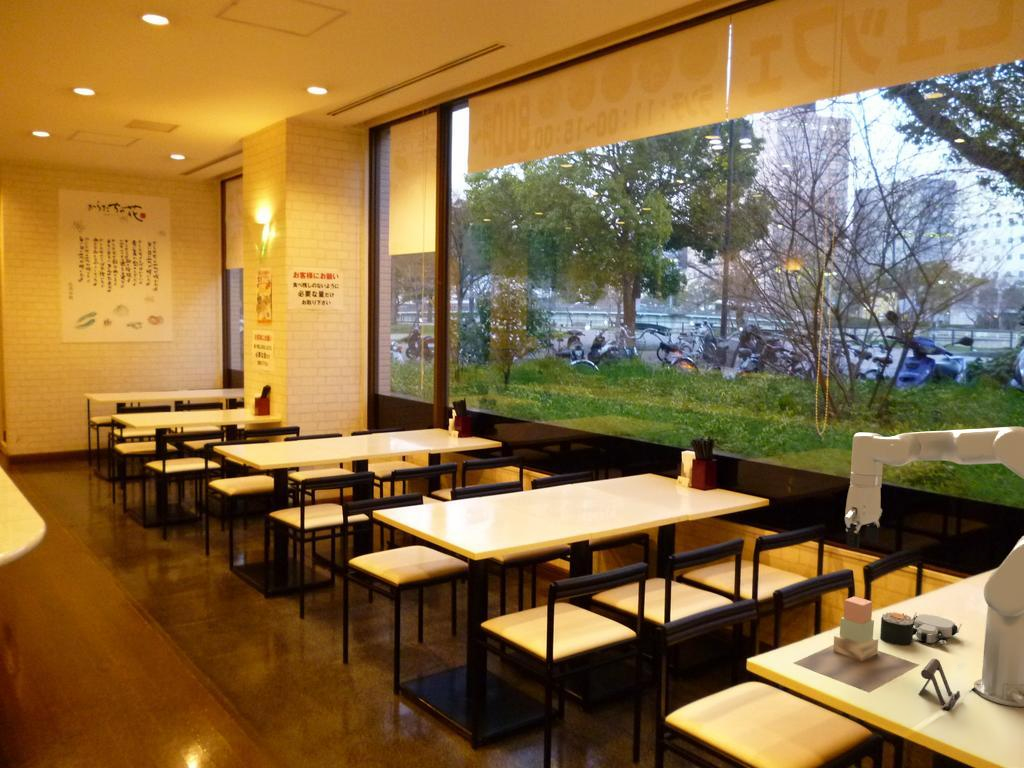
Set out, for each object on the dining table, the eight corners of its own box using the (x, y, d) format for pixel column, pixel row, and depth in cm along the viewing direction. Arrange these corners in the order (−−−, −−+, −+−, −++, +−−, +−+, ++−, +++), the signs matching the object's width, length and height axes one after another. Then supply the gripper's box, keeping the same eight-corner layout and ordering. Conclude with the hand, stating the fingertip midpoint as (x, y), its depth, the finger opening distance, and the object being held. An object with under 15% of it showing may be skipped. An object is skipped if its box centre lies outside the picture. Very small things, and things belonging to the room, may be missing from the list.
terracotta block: (871, 620, 213) (872, 601, 213) (861, 624, 210) (862, 605, 210) (853, 614, 217) (854, 596, 217) (843, 618, 214) (844, 600, 214)
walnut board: (919, 668, 208) (919, 664, 208) (868, 696, 191) (868, 692, 191) (845, 642, 223) (845, 639, 223) (792, 666, 207) (793, 662, 207)
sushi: (877, 644, 223) (879, 616, 222) (883, 635, 230) (885, 607, 229) (909, 652, 218) (911, 623, 217) (915, 642, 225) (917, 614, 224)
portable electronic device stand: (950, 713, 184) (953, 678, 183) (913, 701, 189) (915, 667, 189) (959, 700, 191) (962, 665, 190) (923, 689, 196) (925, 656, 195)
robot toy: (947, 654, 219) (962, 635, 230) (947, 639, 219) (962, 620, 230) (899, 641, 228) (915, 623, 238) (899, 626, 227) (916, 609, 238)
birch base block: (877, 653, 214) (878, 638, 214) (862, 660, 209) (863, 645, 209) (848, 643, 220) (849, 629, 220) (833, 650, 215) (834, 635, 215)
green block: (872, 638, 214) (874, 620, 213) (861, 643, 210) (862, 625, 210) (851, 631, 218) (852, 613, 218) (839, 636, 215) (840, 618, 214)
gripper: (868, 474, 219) (864, 536, 221) (835, 481, 208) (831, 546, 210) (896, 479, 213) (891, 542, 215) (863, 486, 202) (859, 553, 204)
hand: (862, 544), depth 212 cm, fingers open, 9 cm apart
